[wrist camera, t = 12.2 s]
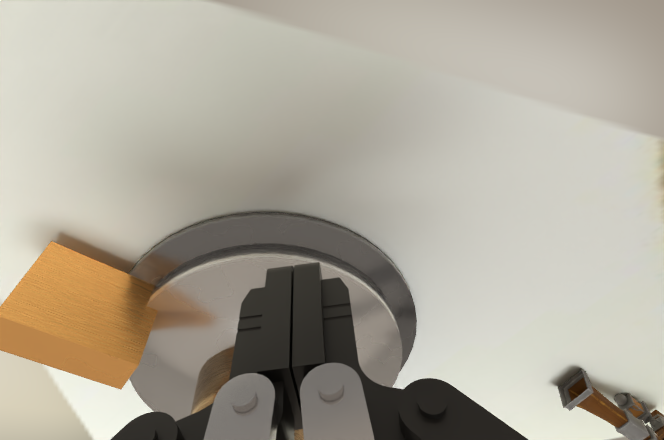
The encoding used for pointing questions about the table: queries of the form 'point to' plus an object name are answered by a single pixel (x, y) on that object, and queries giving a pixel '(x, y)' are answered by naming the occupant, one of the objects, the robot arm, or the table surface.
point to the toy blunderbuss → (613, 409)
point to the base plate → (290, 233)
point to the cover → (217, 382)
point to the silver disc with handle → (170, 318)
